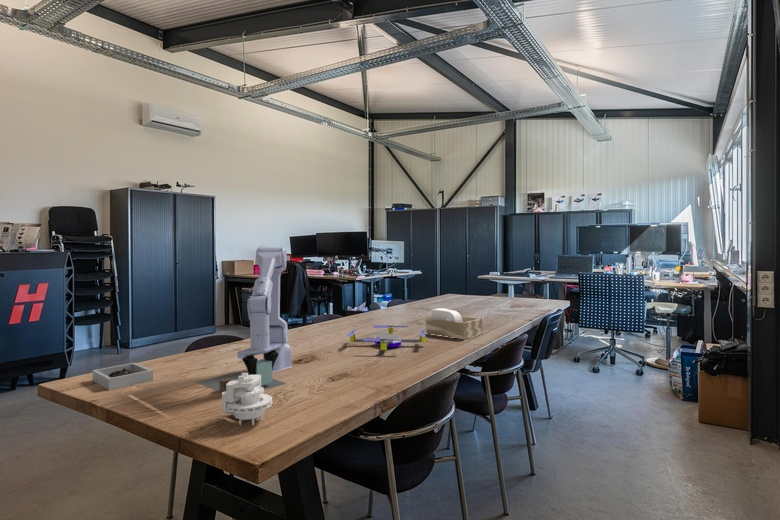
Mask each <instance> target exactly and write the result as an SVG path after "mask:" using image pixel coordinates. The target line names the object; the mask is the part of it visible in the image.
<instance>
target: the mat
mask: <svg viewBox="0 0 780 520" xmlns="http://www.w3.org/2000/svg"><path fill="white" fill-rule="evenodd" d="M242 373H248V370H247V369H246V370H242V371H239V372H238V371H237V372H235V373H229V374H226V375H225V374H224V375H222V376H216V377H213V378H208V379H204V380H200V381H199V380H198V381H196V383H197V384H199V385H202V386H205V387H206V388H209V389H211V390H214V391H217V392H219V393H221V394H222V393H223V391H220V384H219V380H223V379H230V380H232V381H234V380H238V377H239V376H242ZM272 381H273V382H271V383H267V386H265V387H263V388H264V391H265V390H269V389H272V388H276V387H278V386H279V387H280V386H282V385H287V384H288V383H287V382H284V381H281V380H277V379H275V378H272Z"/></svg>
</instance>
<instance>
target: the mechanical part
mask: <svg viewBox="0 0 780 520" xmlns="http://www.w3.org/2000/svg"><path fill="white" fill-rule="evenodd" d="M272 405H273V397H272V396H271V395H269V394H266V393H265V390H264V388H263V387H261V375H248V373H242V376H239V377H238V380H234V381H230V382H228V383H227V384H226V391H225V392H223V393H221V408H222V409H221V410H222V412H223V413H224V414H225V415H232V416H234V418H235V419H238V424H239V426H241V425H242V422H243V420H251V426H255V419H256V418H257V419H258V418H259V419H260V420H259V421H263V416H264V415H265V414H266V409H268V408H270V407H271V406H272Z"/></svg>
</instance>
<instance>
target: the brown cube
mask: <svg viewBox="0 0 780 520" xmlns="http://www.w3.org/2000/svg"><path fill="white" fill-rule="evenodd" d="M230 381H232V380H230V379H223V380H219V384H220V391H223V392H225V391H226V384H227V383H228V382H230Z"/></svg>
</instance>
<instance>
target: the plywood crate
mask: <svg viewBox="0 0 780 520" xmlns="http://www.w3.org/2000/svg"><path fill="white" fill-rule="evenodd" d="M461 317H462V322H463V323H461V322H453V321H444V320H436V319H432V317H428V318H426V319H425V334H426V333H428V334H435V335H442V336H448V337H455V338H462V339H466V338H469V337H472V336H475V335H478V334H481V333H482V334H483V318H480V317H479V318H477V317H471V316H470V317H469V316H463V315H461Z"/></svg>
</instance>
